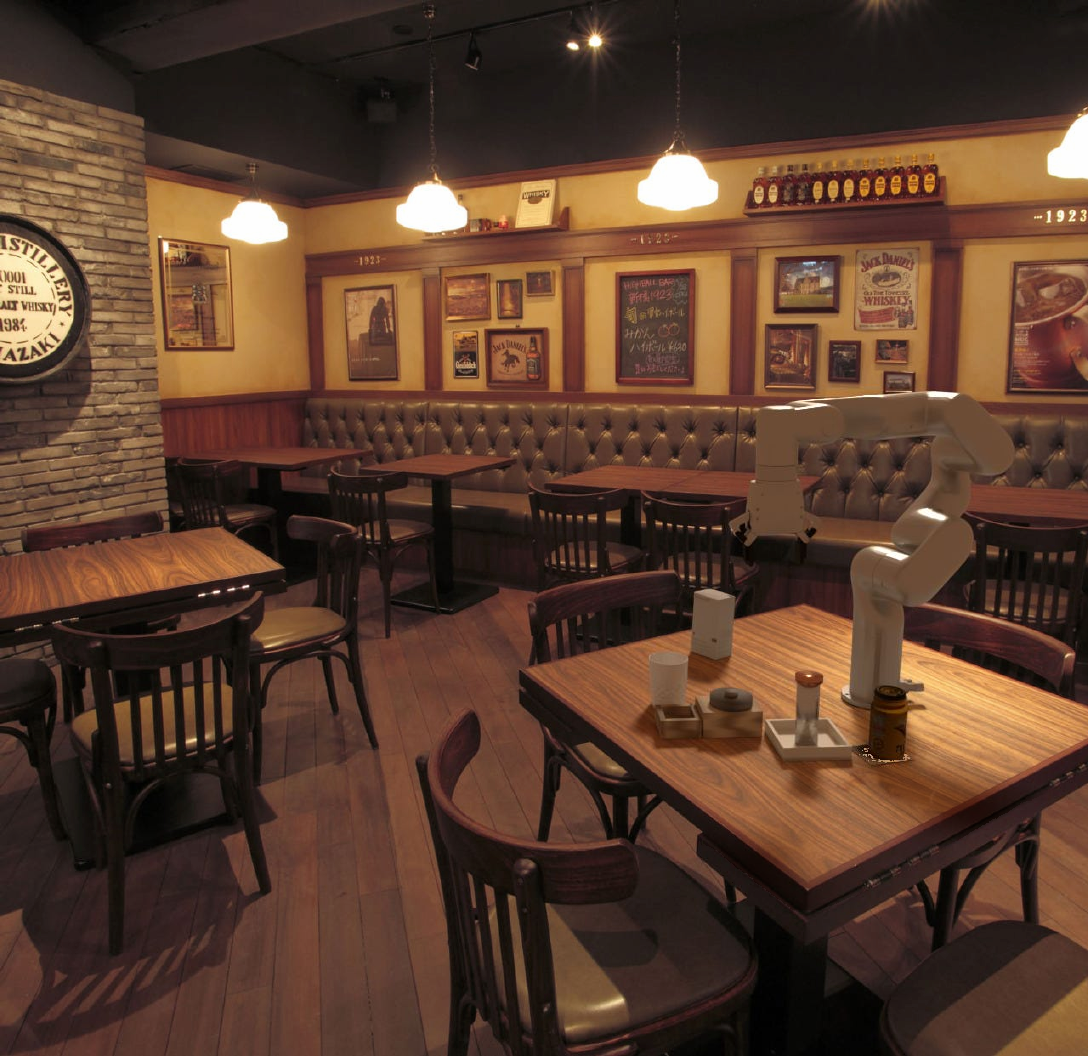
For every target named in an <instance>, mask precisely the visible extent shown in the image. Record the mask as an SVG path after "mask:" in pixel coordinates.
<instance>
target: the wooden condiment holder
mask: <svg viewBox="0 0 1088 1056" xmlns="http://www.w3.org/2000/svg"><path fill="white" fill-rule="evenodd" d="M694 697H695V698H694V699H695V700H694V701H695V702H694V703H685V704H661V705H655V707H654V723H655V726H656V728H657V732H658V734H659V737H660V739H661V740H662V739H665V740H667V739H669V740H670V739H698V738H699V739H701V738H702V739H713V738H714V739H718V738H720V739H721V738H724V739H725V738H727V739H728V738H760V737H761V738H762V737H763V724H764V723H763V721H764V710H763V709H762V708H761V706H760V705H759V702H757V700H756V698H755V696H754V695H753V694H752V693H751V692H750V691H747V690H746V689H742V688H738V687H732V686H731V687H727V686H726V687H718V688H715V689H712V690H711V691H710V692H709V695H695V696H694Z"/></svg>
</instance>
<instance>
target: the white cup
mask: <svg viewBox="0 0 1088 1056" xmlns="http://www.w3.org/2000/svg"><path fill="white" fill-rule="evenodd" d="M688 668H689V657H688V656H687V655H686V654H684V653H681V652H678V651H672V650H665V651H664V650H663V651H656V652H652V653H651V654H649V656H648V672H649V689H650V704H651V706H653V708H655V705H661V704H686V703H685V701H686V693H687V683H688V670H689V669H688Z"/></svg>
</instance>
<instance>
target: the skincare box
mask: <svg viewBox="0 0 1088 1056" xmlns="http://www.w3.org/2000/svg"><path fill="white" fill-rule="evenodd" d="M693 593H694V594H693V608H692V621H691V623H692V625H691V637H690V638H691V639H690V652H692V653H695V654H697V655H700V656H703V657H707V658H709V659H712V660H714V661H717V660H720V659H723V658H728V657H731V656H732V650H733V635H734V634H733V633H734V621H735V618H734V617H735V607H736V596H734V595H731V594H728V593H725V592H723V591H719V590H717V589H713V588H705V589H702V590H696V591H694V592H693Z"/></svg>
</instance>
